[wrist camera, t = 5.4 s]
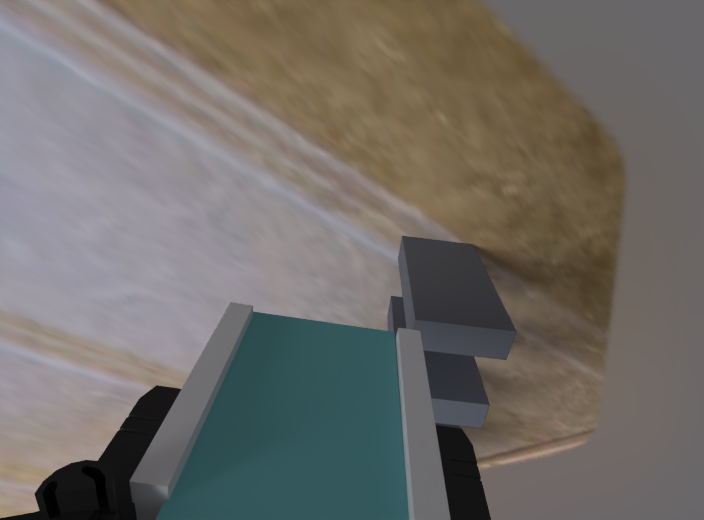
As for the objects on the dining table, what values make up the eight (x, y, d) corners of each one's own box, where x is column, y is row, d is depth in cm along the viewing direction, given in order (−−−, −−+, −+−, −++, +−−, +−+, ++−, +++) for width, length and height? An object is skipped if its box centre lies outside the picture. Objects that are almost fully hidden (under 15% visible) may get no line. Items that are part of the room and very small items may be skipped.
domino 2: (402, 235, 29) (415, 319, 20) (472, 244, 29) (516, 331, 21) (398, 258, 30) (408, 348, 21) (466, 266, 30) (506, 360, 21)
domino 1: (251, 311, 14) (56, 731, 6) (394, 332, 15) (428, 776, 6) (250, 352, 15) (77, 777, 6) (385, 371, 15) (402, 814, 6)
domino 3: (391, 296, 32) (398, 394, 23) (456, 303, 32) (489, 405, 23) (387, 315, 32) (393, 418, 24) (451, 323, 33) (481, 428, 24)
